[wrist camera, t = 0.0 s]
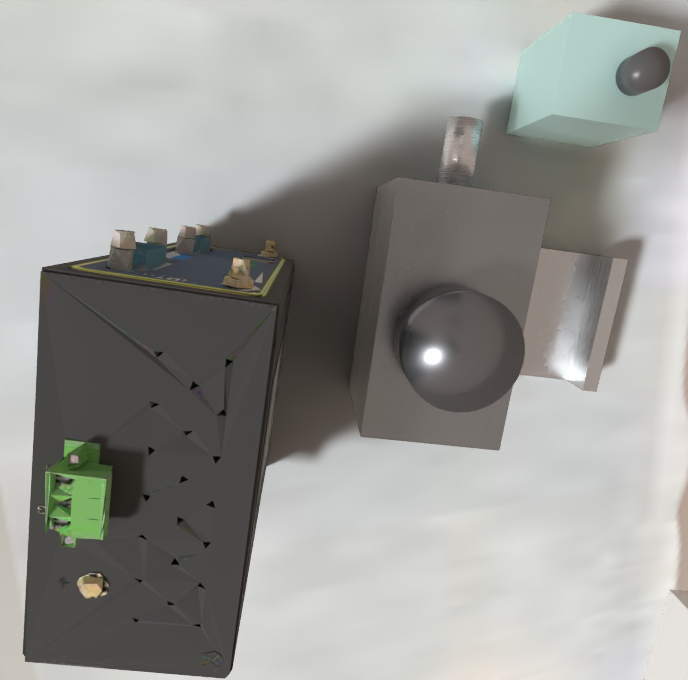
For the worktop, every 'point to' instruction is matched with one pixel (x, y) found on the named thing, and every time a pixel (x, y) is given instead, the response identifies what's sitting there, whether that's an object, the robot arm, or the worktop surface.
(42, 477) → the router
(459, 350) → the motor
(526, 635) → the worktop surface
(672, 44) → the block
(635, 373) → the worktop surface
